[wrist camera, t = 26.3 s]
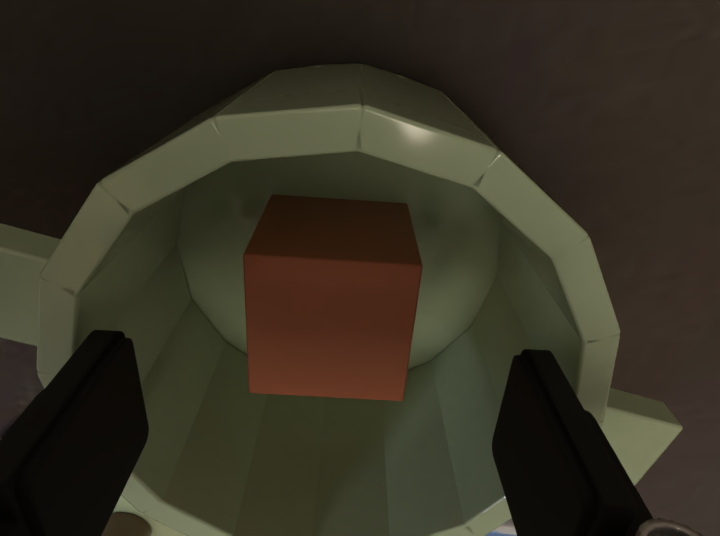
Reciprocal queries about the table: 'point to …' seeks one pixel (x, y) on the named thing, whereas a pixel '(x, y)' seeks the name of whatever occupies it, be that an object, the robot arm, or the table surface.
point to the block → (331, 298)
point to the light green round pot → (228, 320)
